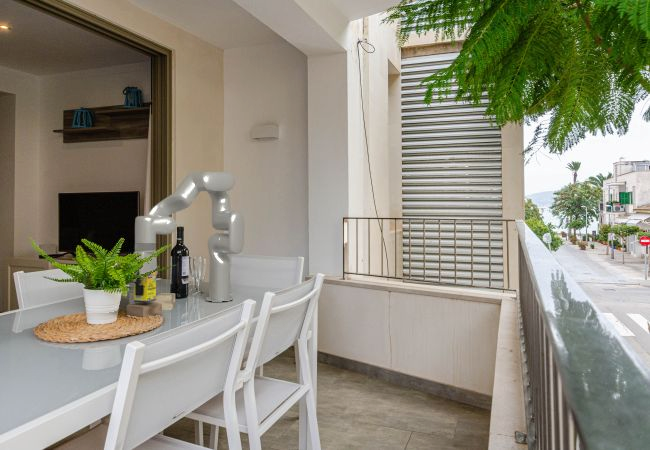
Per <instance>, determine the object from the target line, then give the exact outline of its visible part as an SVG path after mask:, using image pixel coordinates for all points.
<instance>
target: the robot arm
mask: <svg viewBox="0 0 650 450" xmlns="http://www.w3.org/2000/svg"><path fill="white" fill-rule="evenodd" d="M235 183H236V179H235V177H234V175H233V174H232V173H231V172H229V171H228V172H227V171H208V170H207V171H206V170H205V171H204V170H203V171H193V172H190V173H188V174H187V175H186V176H185V178H184V179H183V180H182V181H181V183H180V184H179V185H178V186H177V187H176V189H175V190H174V191H173V192H172V193H171V194H169V195H168V196H166V197H165V198H164V199H162V200H160V201H159V202H158V203H157V204H155V205H154V206H153V207H151V209H150V210H149V211H148V213H147V214H146V215H138V216H136V217H135V220H134V221H135V222H134V251H133V254H136V255H137V253H139V254H141V256H139V257H137V258H136V259H137V260H138V259H143V258H145V257H147V258H148V257H150V256H151V255H152V254H153V253H154V252H155V251H156V252H157V247H156V246H157V245H156V244H157V235H171V234H173V233H174V232H175V231H176V229H177V222H176V219H175V218H173V217H172V216H171V215H173V214H176V213H177V212H180V211H183V210H186V209H187V208H189V207H190V206H191V204H192V203H193V201H194V200H195V199H196V198H197V197H198V195H199V194H200V193H201V192H207V194H208V195H209V197H210V199H211V226H212V228H213V229H215V230H217V231H226V232H227V231H228V233H226V232H225V233H223V232H222V233H221V232H218V233H217V232H216V233H213V234H212V235H210V236H209V237H208V240H207V250H208V256H209V276H208V277H209V284H208V285H209V286H208V289H209V290H208V291H209V292H208V294H209V295H208V296H206V297H205V301H206V300H207V301H206V302H208V301H212V302H211V303H223V302H222V301H228V302H231V301H230V300H232V299H233V300H234V296H231V294H233V290H232V289H231V260H230V256H229V255H238V254H240V253H241V252H242V250H243V249H244V243H245V218H244V215H243V214H242V212H240V211H238V210H235V209H233V210H231V199H230V198H231V197H230V195H229V193H228V192H229V191H231V190H233V188H234V187H235ZM153 256H154V255H153ZM155 256H156V257H152V258H151V259H152V260H151V259H150V260H151V261H150V260H149V262H148V263H149V264H148V263H147V262H145V263H146V264H145V263H144V265H143V267H142V268H141V269H138V271H137V272H136V273H135V275H139V274H140V276H141V274H145V273H146V272H150V271H152V272H153V270H155V269H156V268H157V269H158V262H157V261H158V260H157V259H158V258H157V254H156V255H155ZM153 273H156V277H157V276H158V274H159V271H158V270H157V271H155V272H153ZM151 274H152V273H151ZM141 277H142V279H141V280H139V279H137V278H136V279H134V280H133V282H134V284H135V295H139V296H143V295H144V285H142V284H143V280H144V277H143V276H141ZM233 300H232V301H233Z"/></svg>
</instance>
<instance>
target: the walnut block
mask: <svg viewBox="0 0 650 450" xmlns="http://www.w3.org/2000/svg"><path fill="white" fill-rule="evenodd" d="M162 313H163V310H162V304H161V303H154V302H148V303H135V304H129V303H128V304H126V316H127V315H130V316H137V317H142V318H143V317H149V316H156V315H160V316H159V317H161V316H162V315H163V314H162Z"/></svg>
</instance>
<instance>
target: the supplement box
mask: <svg viewBox="0 0 650 450" xmlns="http://www.w3.org/2000/svg"><path fill="white" fill-rule="evenodd" d="M139 280H141V279H139ZM142 285H144V295H143V296H139V295H135V284H134V302H140V303H148V302H151V301H155V300H156V296H157V276H156V273H152V274H150V275H148V276H147V277H145V278H144V280H143V284H142Z"/></svg>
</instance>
